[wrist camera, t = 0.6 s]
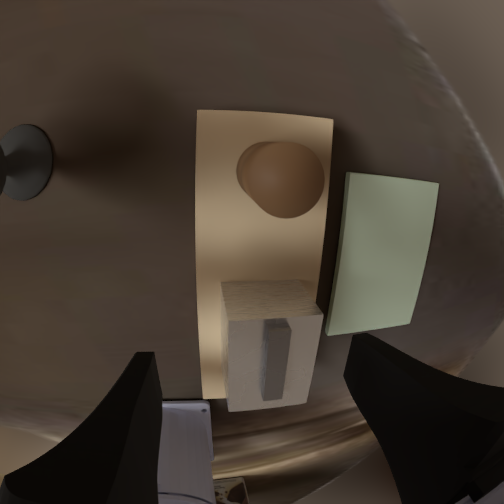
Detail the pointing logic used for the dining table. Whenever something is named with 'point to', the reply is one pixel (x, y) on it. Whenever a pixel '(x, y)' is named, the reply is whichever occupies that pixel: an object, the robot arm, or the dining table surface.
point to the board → (380, 251)
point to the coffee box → (231, 491)
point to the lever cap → (267, 343)
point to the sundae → (24, 162)
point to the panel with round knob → (255, 211)
